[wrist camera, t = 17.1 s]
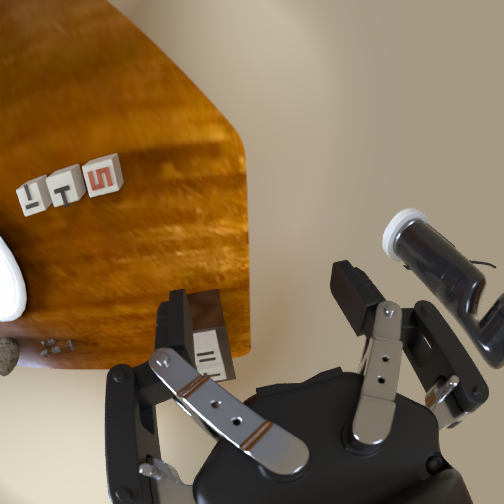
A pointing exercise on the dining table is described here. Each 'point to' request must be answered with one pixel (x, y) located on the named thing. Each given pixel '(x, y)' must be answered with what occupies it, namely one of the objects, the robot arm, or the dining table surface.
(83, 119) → the dining table surface
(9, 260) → the plate
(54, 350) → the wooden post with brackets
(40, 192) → the letter cube pair
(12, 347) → the decorative egg
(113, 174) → the tile
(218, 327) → the tile rack
